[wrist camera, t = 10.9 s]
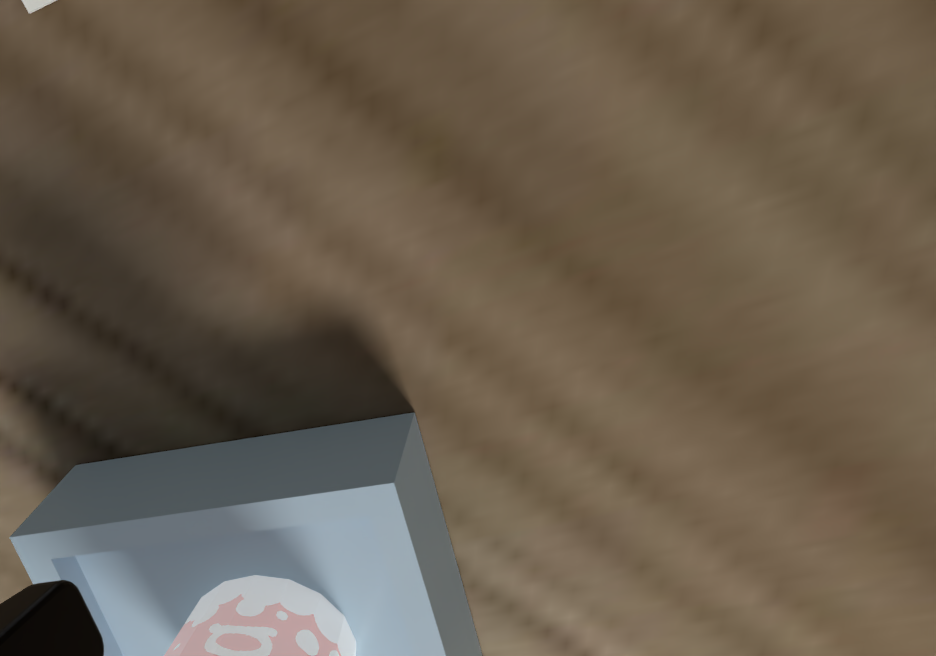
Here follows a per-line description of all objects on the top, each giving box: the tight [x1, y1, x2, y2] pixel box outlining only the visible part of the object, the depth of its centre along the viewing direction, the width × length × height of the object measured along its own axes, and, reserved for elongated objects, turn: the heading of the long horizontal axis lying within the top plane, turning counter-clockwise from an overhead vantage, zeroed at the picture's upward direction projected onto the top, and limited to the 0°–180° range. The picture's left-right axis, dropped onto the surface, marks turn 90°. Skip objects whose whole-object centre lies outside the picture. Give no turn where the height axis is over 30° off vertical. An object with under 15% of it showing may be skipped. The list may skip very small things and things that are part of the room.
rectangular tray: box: [9, 412, 483, 656], centre depth 24 cm, size 10×10×3 cm
